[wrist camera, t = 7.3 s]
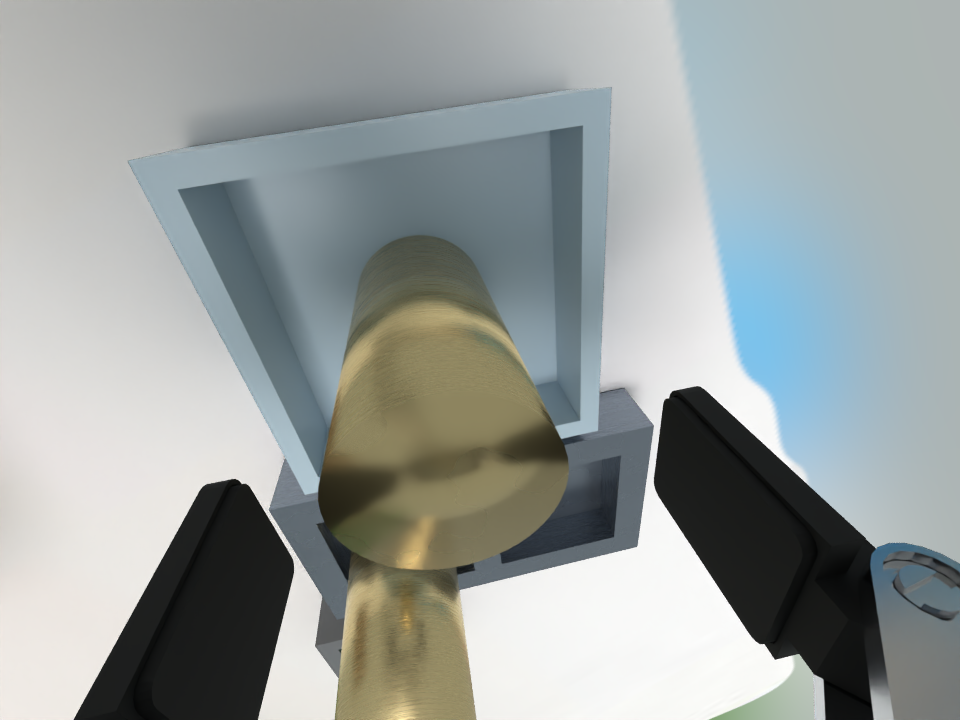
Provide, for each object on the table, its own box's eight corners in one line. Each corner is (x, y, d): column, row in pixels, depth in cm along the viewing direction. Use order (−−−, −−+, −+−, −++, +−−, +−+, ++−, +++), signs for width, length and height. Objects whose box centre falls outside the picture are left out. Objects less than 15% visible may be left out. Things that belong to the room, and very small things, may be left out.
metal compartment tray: (342, 568, 26) (337, 619, 23) (284, 459, 20) (268, 510, 18) (614, 505, 27) (637, 546, 24) (624, 388, 22) (653, 425, 19)
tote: (186, 147, 13) (127, 160, 10) (567, 90, 14) (611, 87, 11) (318, 437, 20) (305, 495, 17) (569, 384, 21) (598, 430, 18)
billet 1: (340, 248, 15) (275, 427, 7) (474, 224, 16) (567, 368, 7) (376, 361, 18) (359, 590, 10) (489, 339, 18) (569, 539, 10)
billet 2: (342, 496, 21) (307, 757, 13) (439, 474, 21) (469, 714, 13) (368, 553, 24) (354, 800, 15) (455, 533, 24) (487, 763, 16)
